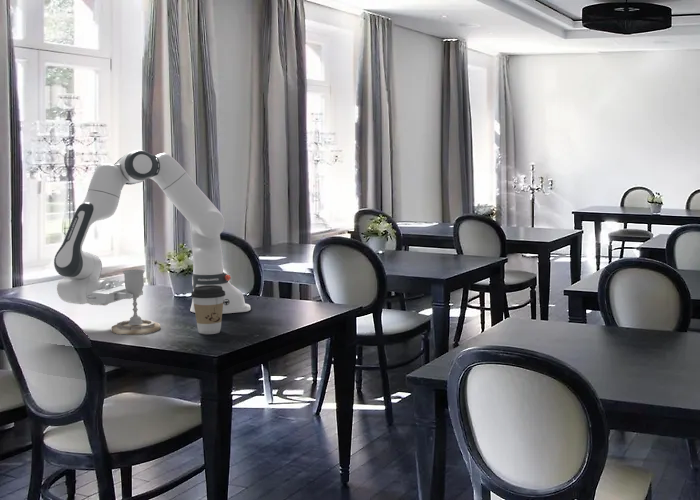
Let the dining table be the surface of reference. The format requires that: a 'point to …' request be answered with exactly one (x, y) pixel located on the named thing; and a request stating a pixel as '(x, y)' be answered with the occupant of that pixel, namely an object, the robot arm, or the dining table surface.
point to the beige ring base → (136, 328)
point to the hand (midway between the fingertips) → (137, 294)
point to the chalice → (134, 291)
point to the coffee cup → (208, 308)
